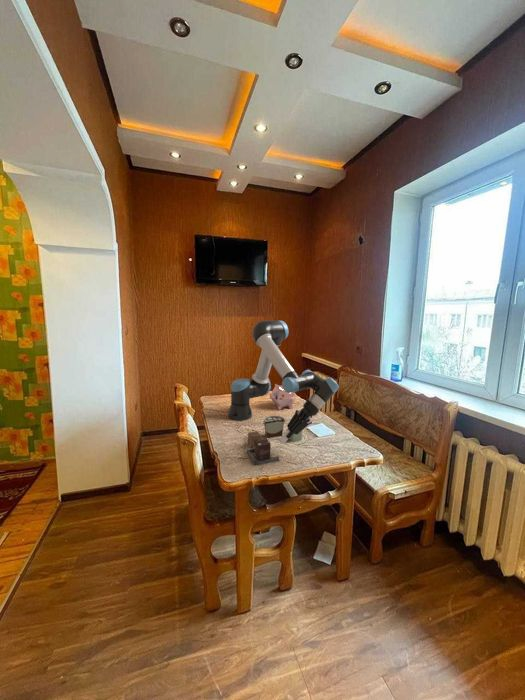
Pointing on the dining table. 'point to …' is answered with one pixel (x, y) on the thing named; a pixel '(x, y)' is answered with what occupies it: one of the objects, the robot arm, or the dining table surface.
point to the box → (262, 448)
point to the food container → (273, 426)
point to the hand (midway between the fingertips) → (281, 441)
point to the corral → (258, 462)
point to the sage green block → (296, 437)
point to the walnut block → (253, 437)
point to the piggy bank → (282, 397)
